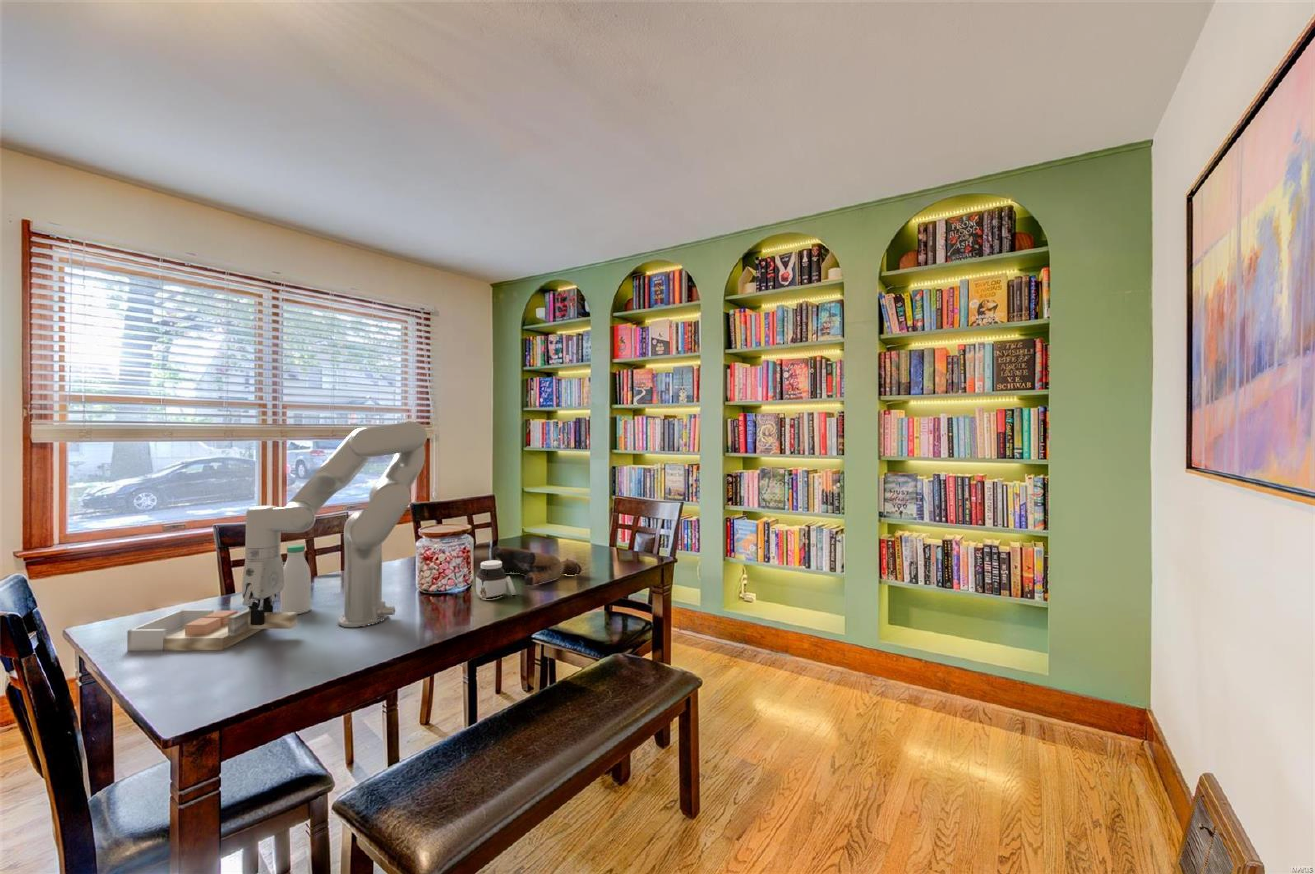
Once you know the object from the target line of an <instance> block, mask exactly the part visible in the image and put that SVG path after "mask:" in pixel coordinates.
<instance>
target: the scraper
mask: <svg viewBox="0 0 1315 874" xmlns="http://www.w3.org/2000/svg"><path fill="white" fill-rule="evenodd" d="M250 619H251V610H249V607H247V608H246V609H244V610H242V611H239V612H238V613H237V614H235V615H233V616H230V617H228V635H236V634H238V633H240V632H242V631H244V630H246V629H262V630H266V629H267V630H268V629H269V630H270V629H271V630H273V629H274V630H281V629H282V630H283V629H284V630H290V629H291V630H292V629H293V628H295V627H296V626H298V625H297V622H298V614H297V612H280V611H277V612H275V611H273V612H265V617H264V624H263V625H251V624H250Z"/></svg>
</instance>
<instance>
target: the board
mask: <svg viewBox="0 0 1315 874" xmlns="http://www.w3.org/2000/svg"><path fill="white" fill-rule="evenodd" d="M261 630H263V629H246V630H244V631H242V632H240V633H238V634H236V635H228V624H227V625H225V626H221V627H220V628H218V629H216V630H214V631H212V632H210V633H208V634H199V635H185V630H182V631H180V632H178V633H176V634H173V635H171V636H169V637H166V638H164V650H163V651H166V652H167V651H224V650H225V649H228V648H229V647H231V646H233V645H235V644H237V643H238V642H240V641H242V640H244V639H246V638H248V637H250V636H252V635H254V634H256V633H258V632H260V631H261Z"/></svg>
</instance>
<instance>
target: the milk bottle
mask: <svg viewBox="0 0 1315 874" xmlns="http://www.w3.org/2000/svg"><path fill="white" fill-rule="evenodd" d="M305 553H306V546H305V544H294V545H293V544H291V545H289V546H286V555H287V558H286V561H285V563H284V564H283V570H284V588H283V590H282V591H280V592H279V612H297V615H301V614H305V613H307V612H309V611H310V610H311V608H312V607H311V606H312V601H311V600H312V583H311V582H312V579H311V578H312V575H311V568H310V566H309V563H308V562H307V560H306V557H305Z"/></svg>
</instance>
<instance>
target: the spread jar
mask: <svg viewBox="0 0 1315 874" xmlns="http://www.w3.org/2000/svg"><path fill="white" fill-rule="evenodd" d="M510 576H511V575H507V576H506V574H505V571H504V570H503V568H502V562H501V561H500V560H496V559H495V560H494V559H491V560H485V561H482V562H480V569H479V570H478V571H477V573H476V576H475V577H476V578H475V582H476V583H475V588H476V589H475V590H476V594H477V596H480V597H482V598H486V599H493V598H497V597H500V596H503V595H504V596H505V595H506V592H507V587H508V590H509V592H511V593H510V595H511V594H512V595H514V594H516V595H517V592H516V589H515V587H514V583H513V581H512V577H510ZM512 595H511V596H512ZM504 596H503V597H504Z"/></svg>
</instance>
